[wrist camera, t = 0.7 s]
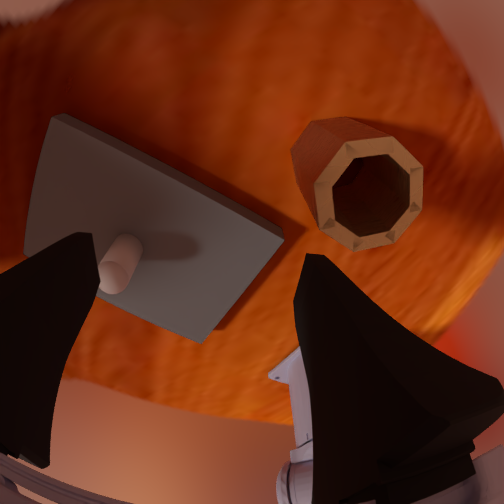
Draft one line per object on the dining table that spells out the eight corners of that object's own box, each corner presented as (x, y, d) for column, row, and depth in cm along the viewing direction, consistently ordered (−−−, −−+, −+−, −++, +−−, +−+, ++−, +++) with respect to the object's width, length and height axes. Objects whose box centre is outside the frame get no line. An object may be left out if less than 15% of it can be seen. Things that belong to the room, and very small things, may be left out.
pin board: (281, 228, 19) (294, 281, 14) (202, 330, 24) (196, 385, 19) (64, 112, 14) (9, 131, 9) (32, 243, 19) (-4, 285, 14)
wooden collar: (387, 151, 16) (440, 186, 11) (339, 212, 18) (374, 265, 13) (325, 101, 15) (366, 113, 10) (276, 169, 17) (291, 212, 12)
